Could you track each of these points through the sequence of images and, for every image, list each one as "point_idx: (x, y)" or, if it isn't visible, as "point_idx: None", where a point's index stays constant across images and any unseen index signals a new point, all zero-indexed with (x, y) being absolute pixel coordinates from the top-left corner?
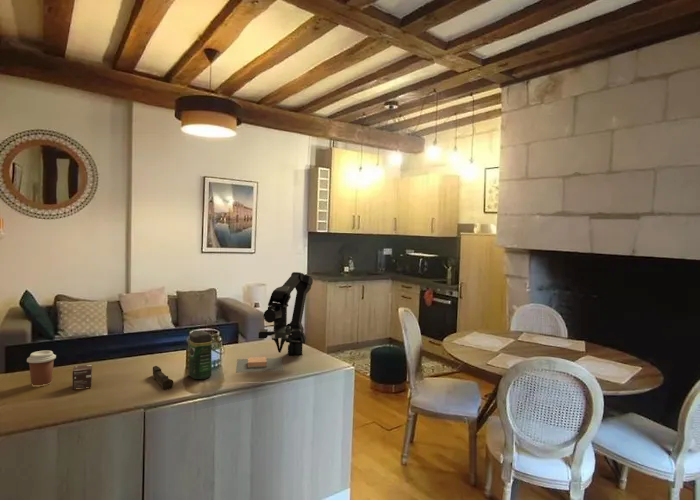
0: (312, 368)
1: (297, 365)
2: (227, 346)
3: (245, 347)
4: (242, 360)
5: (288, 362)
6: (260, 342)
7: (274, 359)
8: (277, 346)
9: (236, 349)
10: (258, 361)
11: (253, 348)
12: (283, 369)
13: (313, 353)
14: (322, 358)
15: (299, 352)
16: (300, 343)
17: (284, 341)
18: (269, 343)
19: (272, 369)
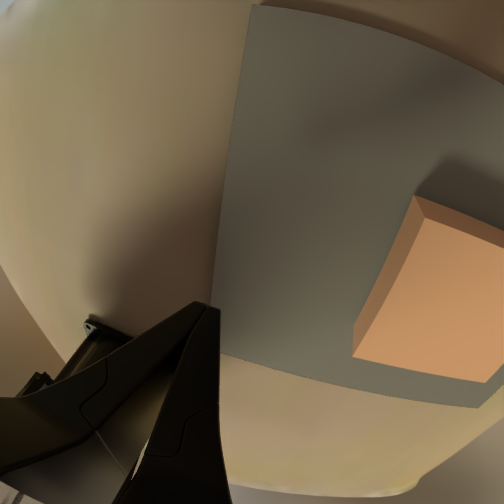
0: (31, 78)
1: (106, 168)
2: (391, 493)
3: (338, 482)
4: (473, 390)
5: (166, 262)
6: (264, 485)
7: (265, 344)
8: (207, 389)
9: (382, 479)
10: (489, 270)
11: (313, 472)
12: (248, 41)
13: (52, 327)
14: (7, 246)
15: (92, 346)
16: (49, 381)
17: (24, 400)
18: (233, 473)
19: (375, 85)
